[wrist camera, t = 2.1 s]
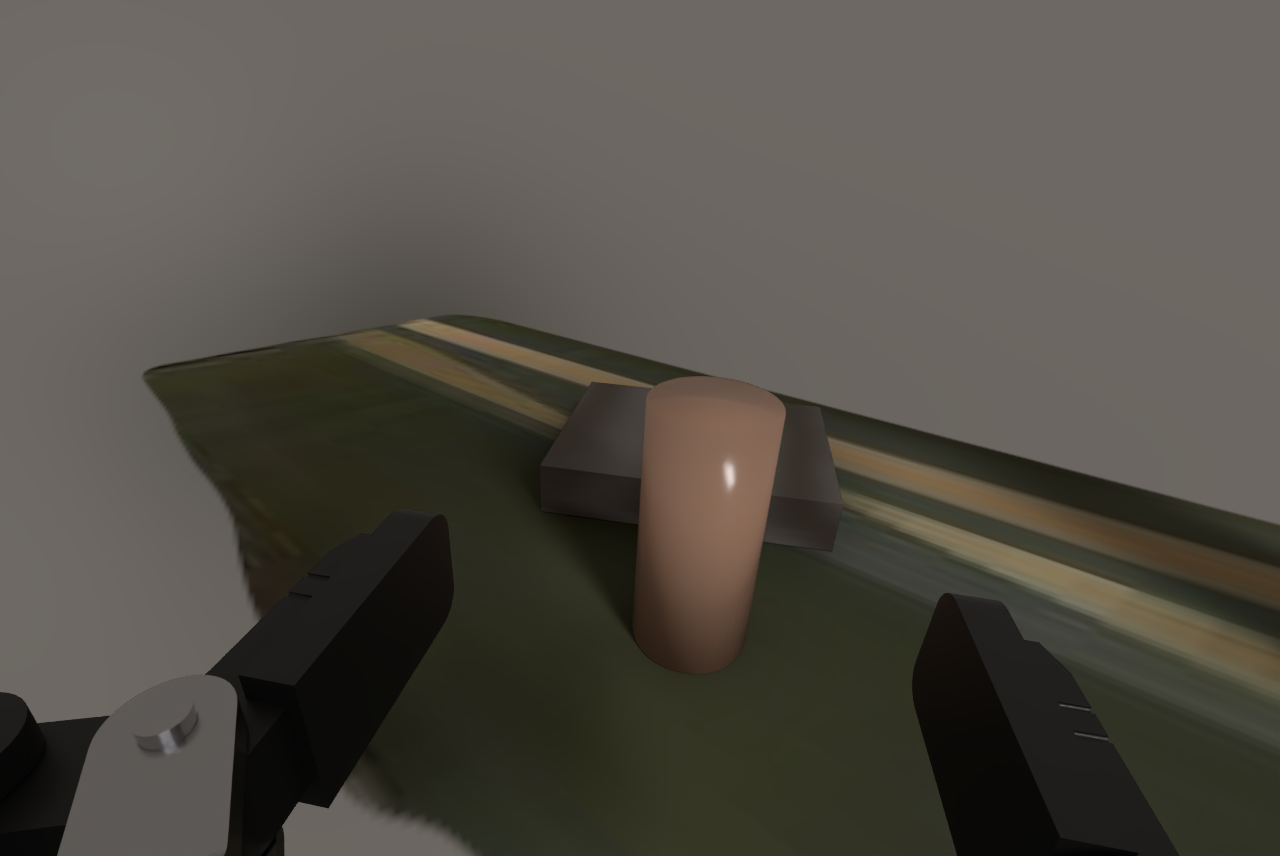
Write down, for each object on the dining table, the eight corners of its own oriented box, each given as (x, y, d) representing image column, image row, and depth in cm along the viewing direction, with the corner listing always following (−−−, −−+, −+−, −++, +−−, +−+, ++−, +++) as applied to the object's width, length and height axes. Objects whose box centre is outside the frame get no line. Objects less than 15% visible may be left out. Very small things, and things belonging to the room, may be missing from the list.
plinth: (812, 445, 43) (819, 406, 41) (831, 551, 32) (843, 504, 31) (591, 419, 45) (591, 381, 43) (541, 510, 34) (539, 465, 33)
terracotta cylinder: (745, 597, 29) (782, 384, 24) (744, 683, 24) (789, 443, 19) (642, 581, 29) (656, 370, 24) (622, 662, 25) (635, 424, 20)
